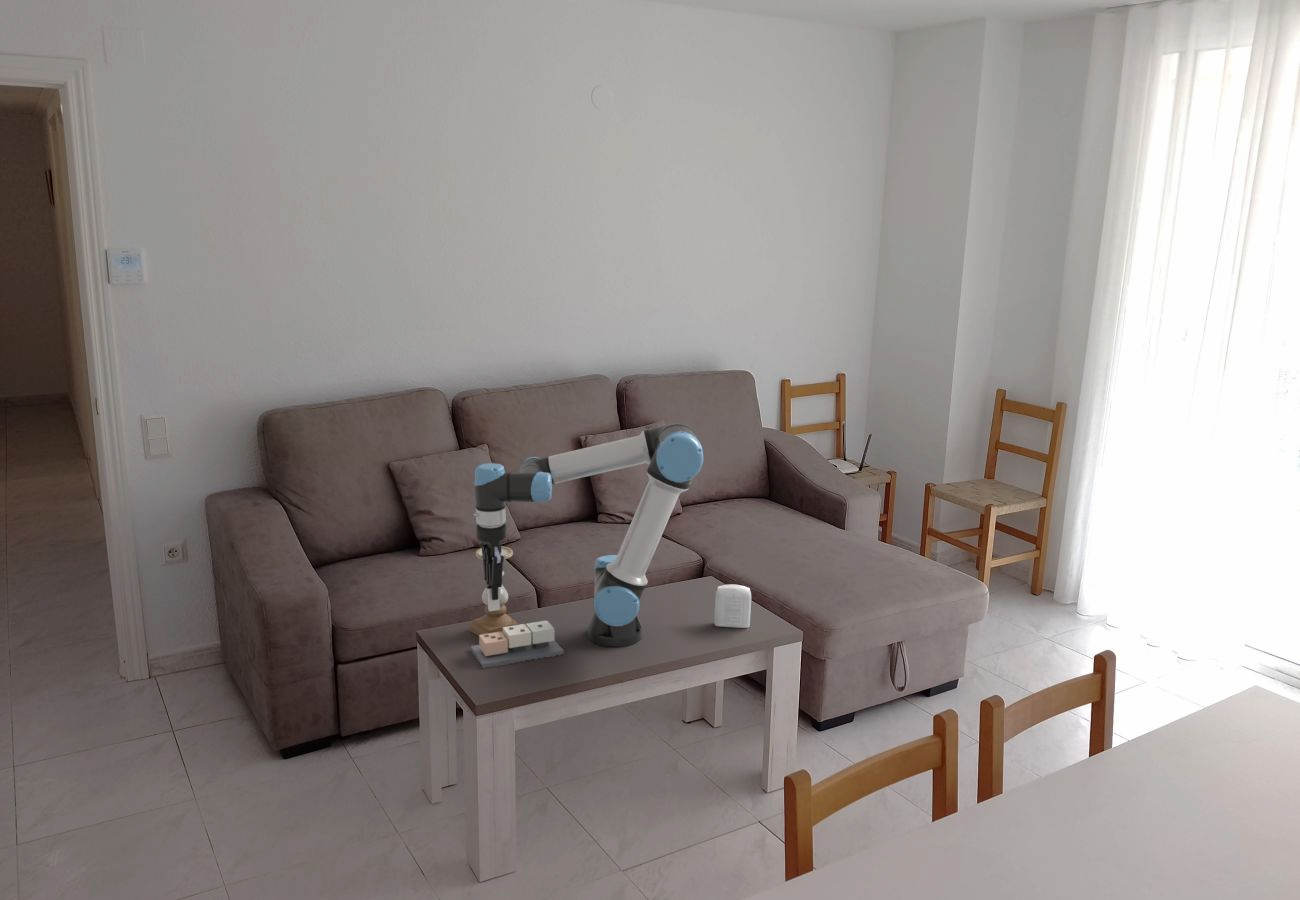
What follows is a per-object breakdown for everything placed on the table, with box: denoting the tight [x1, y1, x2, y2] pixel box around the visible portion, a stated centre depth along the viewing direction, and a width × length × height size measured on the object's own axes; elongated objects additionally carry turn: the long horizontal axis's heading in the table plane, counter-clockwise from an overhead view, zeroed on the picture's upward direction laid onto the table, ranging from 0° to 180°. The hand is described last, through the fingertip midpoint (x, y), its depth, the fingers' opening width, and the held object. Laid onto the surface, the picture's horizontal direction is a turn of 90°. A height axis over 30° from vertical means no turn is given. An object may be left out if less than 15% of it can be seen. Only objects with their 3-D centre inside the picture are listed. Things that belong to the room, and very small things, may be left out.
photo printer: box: [713, 583, 752, 629], centre depth 293 cm, size 10×4×12 cm, turn 86°
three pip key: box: [478, 632, 508, 656], centre depth 270 cm, size 6×6×4 cm
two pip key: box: [503, 623, 531, 648], centre depth 272 cm, size 6×6×4 cm
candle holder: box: [469, 545, 519, 637], centre depth 283 cm, size 11×11×24 cm
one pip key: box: [525, 620, 555, 644], centre depth 275 cm, size 6×6×4 cm
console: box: [470, 639, 565, 669], centre depth 273 cm, size 22×12×4 cm, turn 115°
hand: (494, 609), depth 268 cm, fingers closed
